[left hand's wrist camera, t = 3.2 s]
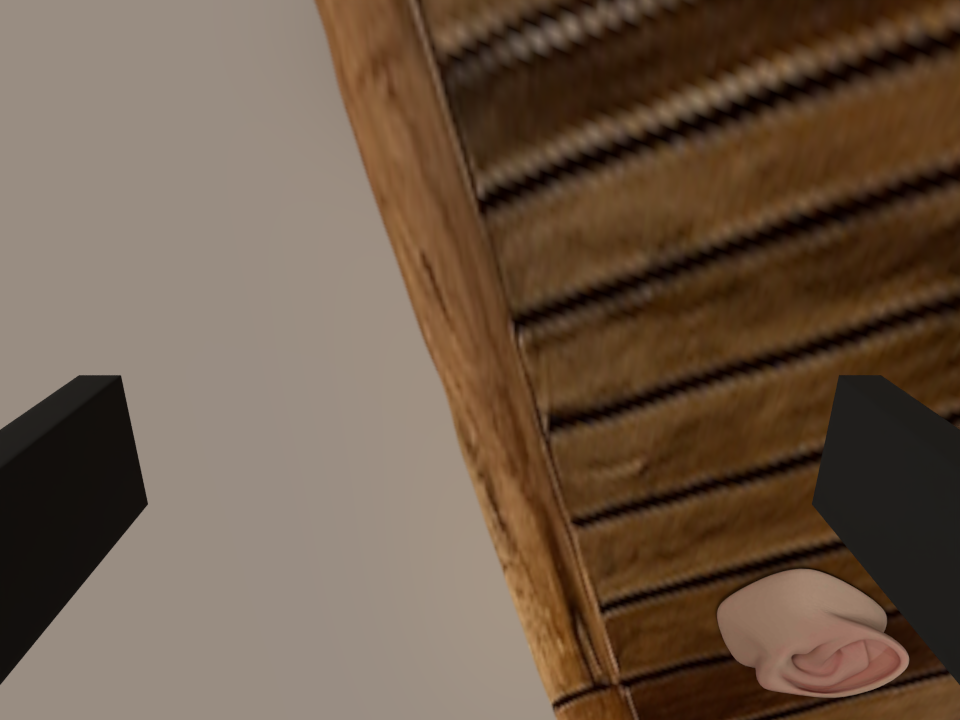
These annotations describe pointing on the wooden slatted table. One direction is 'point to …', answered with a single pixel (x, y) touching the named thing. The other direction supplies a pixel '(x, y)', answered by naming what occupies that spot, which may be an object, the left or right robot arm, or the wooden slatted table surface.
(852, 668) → the anatomical model
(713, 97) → the wooden slatted table surface
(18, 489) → the left robot arm
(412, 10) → the wooden slatted table surface
